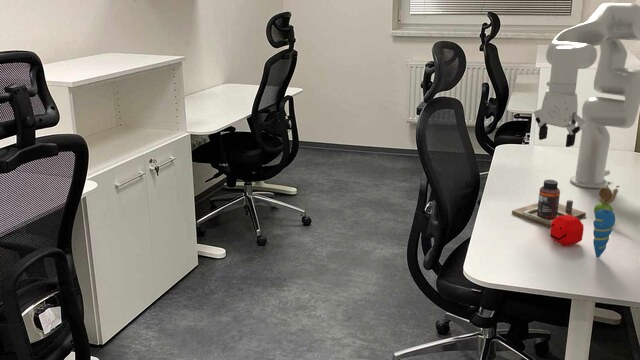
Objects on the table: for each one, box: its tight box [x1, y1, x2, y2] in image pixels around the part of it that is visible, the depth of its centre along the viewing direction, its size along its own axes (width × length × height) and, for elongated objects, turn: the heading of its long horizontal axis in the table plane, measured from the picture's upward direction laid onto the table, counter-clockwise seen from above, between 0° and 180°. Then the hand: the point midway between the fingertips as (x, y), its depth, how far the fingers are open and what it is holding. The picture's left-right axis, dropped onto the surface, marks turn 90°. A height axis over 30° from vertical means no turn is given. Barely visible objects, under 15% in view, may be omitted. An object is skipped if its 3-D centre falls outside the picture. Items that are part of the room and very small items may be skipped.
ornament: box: [592, 207, 616, 259], centre depth 163 cm, size 5×5×15 cm
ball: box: [549, 214, 585, 247], centre depth 173 cm, size 8×8×8 cm
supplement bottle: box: [537, 179, 561, 219], centre depth 189 cm, size 6×6×11 cm
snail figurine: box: [593, 185, 620, 215], centre depth 190 cm, size 5×6×12 cm
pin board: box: [511, 199, 587, 229], centre depth 194 cm, size 18×14×5 cm
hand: (555, 142), depth 191 cm, fingers open, 9 cm apart
